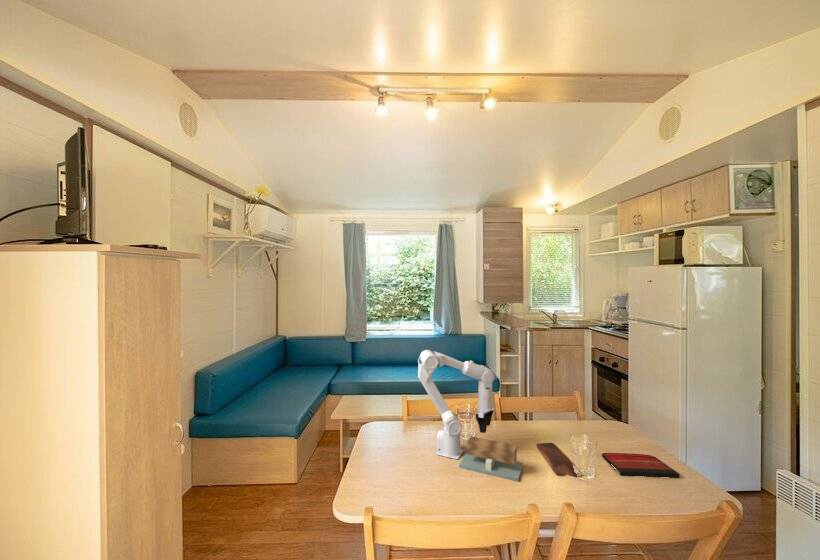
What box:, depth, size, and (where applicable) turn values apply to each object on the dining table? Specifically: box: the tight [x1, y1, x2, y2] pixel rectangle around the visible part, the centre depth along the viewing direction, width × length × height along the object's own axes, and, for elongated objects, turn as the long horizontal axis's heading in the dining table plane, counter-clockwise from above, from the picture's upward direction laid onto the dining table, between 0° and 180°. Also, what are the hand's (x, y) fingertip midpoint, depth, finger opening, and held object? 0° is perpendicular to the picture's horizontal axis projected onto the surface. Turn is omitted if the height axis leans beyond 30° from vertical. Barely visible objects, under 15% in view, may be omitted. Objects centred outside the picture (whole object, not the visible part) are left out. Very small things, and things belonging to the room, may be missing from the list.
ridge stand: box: [458, 452, 524, 482], centre depth 137 cm, size 22×12×4 cm, turn 65°
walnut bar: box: [466, 435, 518, 465], centre depth 137 cm, size 18×5×5 cm, turn 65°
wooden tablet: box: [536, 442, 578, 478], centre depth 143 cm, size 26×2×10 cm
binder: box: [601, 452, 680, 479], centre depth 138 cm, size 16×2×21 cm
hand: (485, 428), depth 149 cm, fingers open, 7 cm apart
